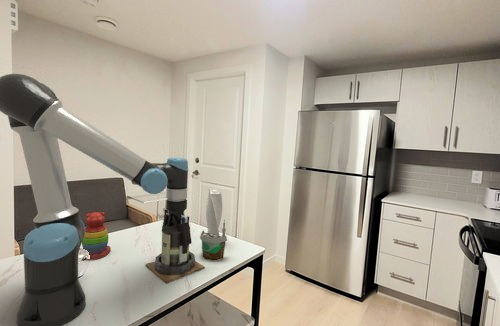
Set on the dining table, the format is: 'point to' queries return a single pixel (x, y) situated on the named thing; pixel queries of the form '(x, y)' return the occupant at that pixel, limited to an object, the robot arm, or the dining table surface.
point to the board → (173, 277)
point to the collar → (176, 268)
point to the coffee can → (171, 246)
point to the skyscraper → (214, 212)
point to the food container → (212, 246)
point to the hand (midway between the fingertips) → (175, 256)
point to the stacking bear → (96, 236)
